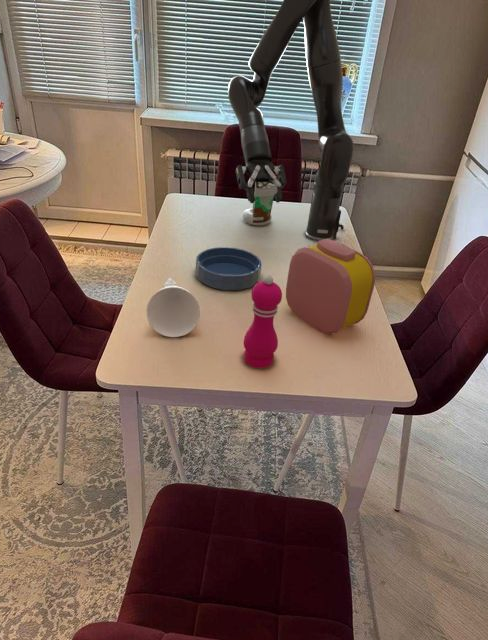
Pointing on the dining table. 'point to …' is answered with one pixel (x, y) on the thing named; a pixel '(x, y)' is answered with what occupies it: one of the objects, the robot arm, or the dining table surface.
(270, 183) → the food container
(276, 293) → the pepper mill
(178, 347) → the dining table surface
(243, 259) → the bowl
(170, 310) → the rocket engine
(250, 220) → the donut
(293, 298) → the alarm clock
